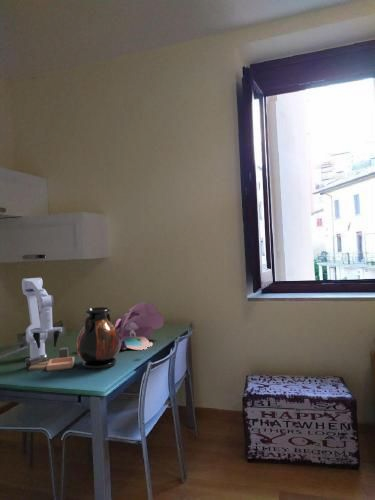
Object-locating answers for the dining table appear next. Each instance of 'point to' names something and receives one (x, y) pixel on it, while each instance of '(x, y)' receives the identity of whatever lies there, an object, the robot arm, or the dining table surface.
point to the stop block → (63, 352)
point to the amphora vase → (98, 340)
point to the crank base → (39, 365)
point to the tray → (60, 363)
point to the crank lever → (35, 360)
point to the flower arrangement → (139, 326)
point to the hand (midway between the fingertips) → (47, 347)
